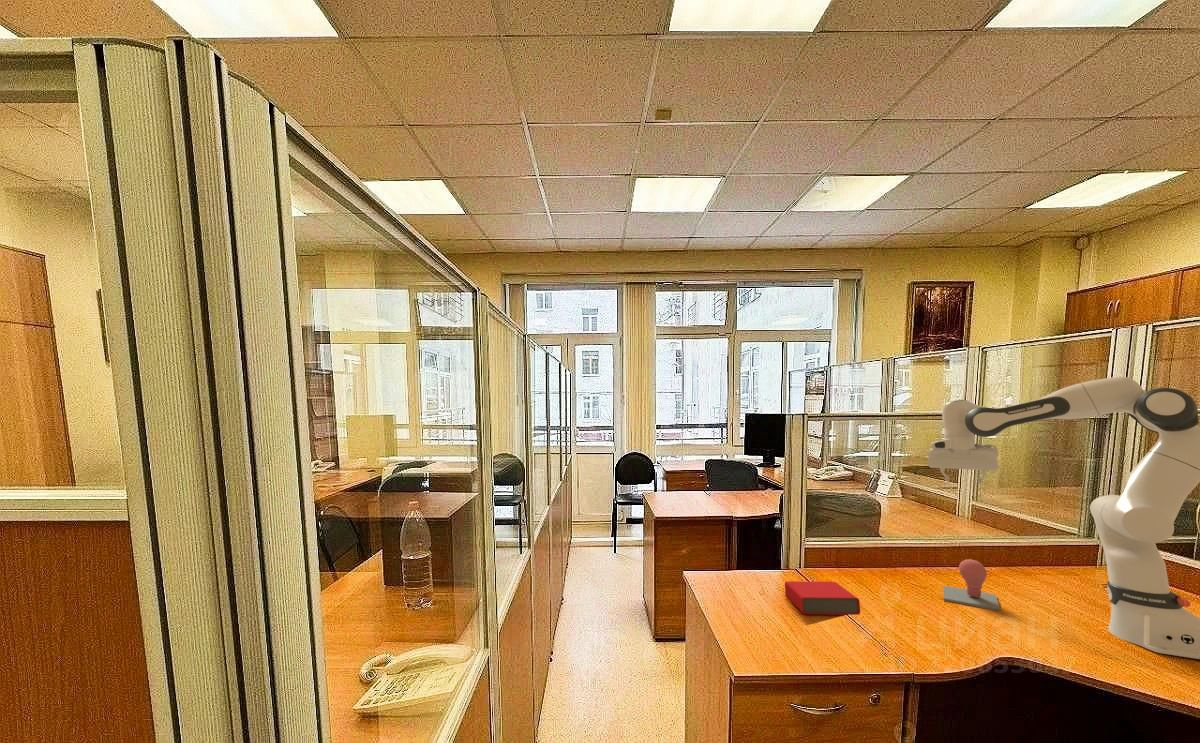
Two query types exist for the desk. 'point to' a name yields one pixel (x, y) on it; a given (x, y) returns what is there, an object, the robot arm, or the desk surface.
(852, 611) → the red device housing
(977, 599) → the mat
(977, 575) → the light bulb
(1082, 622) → the desk surface
